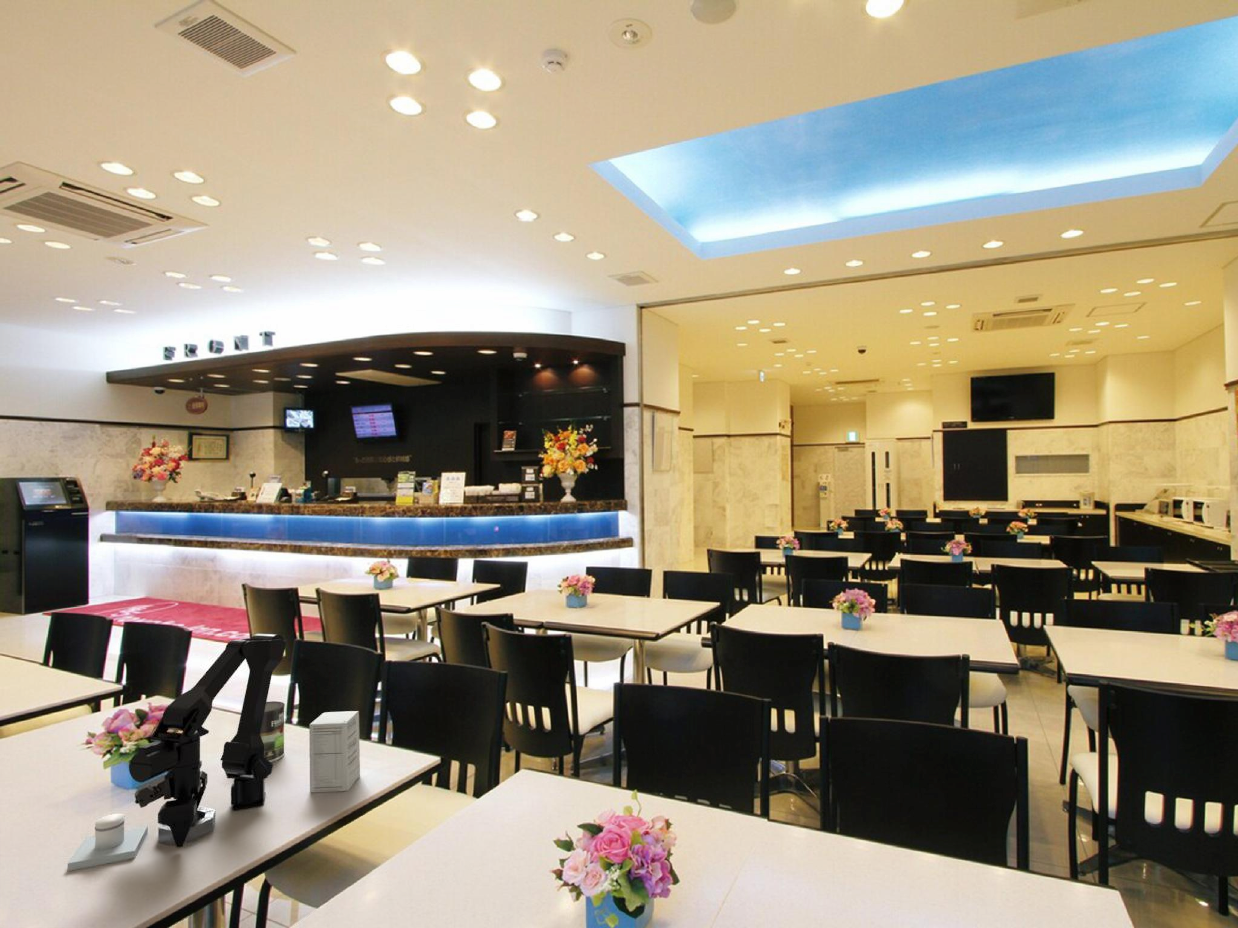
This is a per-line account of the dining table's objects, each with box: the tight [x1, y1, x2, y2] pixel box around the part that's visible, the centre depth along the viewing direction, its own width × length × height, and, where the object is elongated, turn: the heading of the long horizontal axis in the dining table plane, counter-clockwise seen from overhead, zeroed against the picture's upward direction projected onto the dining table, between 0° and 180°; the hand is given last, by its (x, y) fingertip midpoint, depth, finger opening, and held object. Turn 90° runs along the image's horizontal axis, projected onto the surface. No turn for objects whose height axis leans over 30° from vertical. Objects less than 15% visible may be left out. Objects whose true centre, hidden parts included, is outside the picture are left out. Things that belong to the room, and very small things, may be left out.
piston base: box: [67, 813, 149, 872], centre depth 140 cm, size 11×11×6 cm
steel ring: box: [157, 806, 216, 846], centre depth 148 cm, size 10×10×3 cm
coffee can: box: [260, 700, 286, 763], centre depth 188 cm, size 10×10×14 cm
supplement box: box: [308, 710, 361, 793], centre depth 171 cm, size 10×9×17 cm
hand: (184, 836), depth 144 cm, fingers open, 9 cm apart
